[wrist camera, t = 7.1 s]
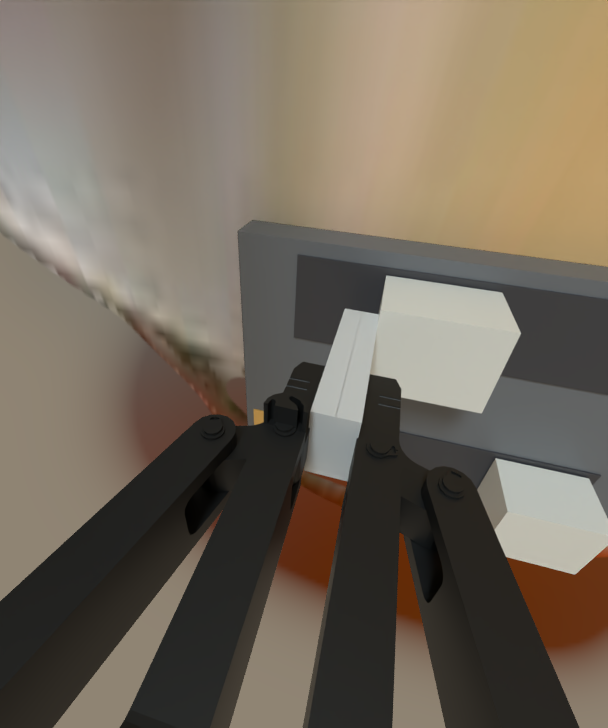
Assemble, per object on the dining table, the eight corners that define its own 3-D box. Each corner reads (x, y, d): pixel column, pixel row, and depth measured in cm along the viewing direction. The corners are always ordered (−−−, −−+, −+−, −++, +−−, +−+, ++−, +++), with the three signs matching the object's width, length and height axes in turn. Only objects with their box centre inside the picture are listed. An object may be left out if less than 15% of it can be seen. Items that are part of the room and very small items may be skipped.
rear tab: (472, 497, 23) (480, 549, 21) (495, 458, 21) (507, 511, 18) (555, 517, 23) (574, 574, 20) (589, 478, 20) (616, 537, 18)
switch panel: (258, 431, 28) (248, 452, 27) (252, 220, 19) (236, 231, 17) (594, 509, 24) (607, 538, 23) (803, 292, 15) (851, 316, 13)
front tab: (371, 347, 19) (364, 390, 16) (386, 275, 16) (380, 310, 14) (471, 366, 18) (481, 413, 15) (502, 292, 16) (521, 333, 13)
